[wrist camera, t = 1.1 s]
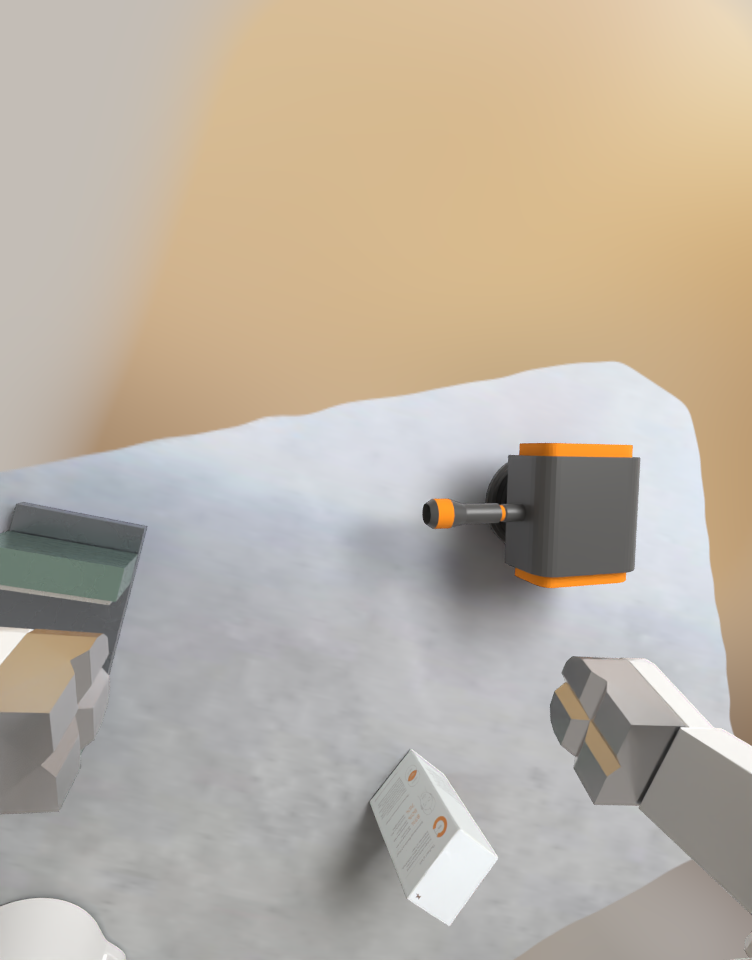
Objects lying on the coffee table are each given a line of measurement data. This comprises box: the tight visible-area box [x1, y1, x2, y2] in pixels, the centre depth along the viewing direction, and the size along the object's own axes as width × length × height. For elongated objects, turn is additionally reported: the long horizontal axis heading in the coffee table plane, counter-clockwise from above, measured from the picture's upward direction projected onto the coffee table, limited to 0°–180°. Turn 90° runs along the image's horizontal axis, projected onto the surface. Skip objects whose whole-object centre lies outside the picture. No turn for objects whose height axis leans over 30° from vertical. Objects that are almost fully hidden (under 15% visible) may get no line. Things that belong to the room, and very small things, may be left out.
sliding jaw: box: [0, 531, 138, 605], centre depth 42 cm, size 4×11×6 cm, turn 75°
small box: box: [370, 749, 498, 926], centre depth 52 cm, size 8×6×13 cm
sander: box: [423, 443, 640, 588], centre depth 53 cm, size 15×25×13 cm, turn 89°
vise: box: [0, 502, 147, 755], centre depth 42 cm, size 21×11×8 cm, turn 165°
